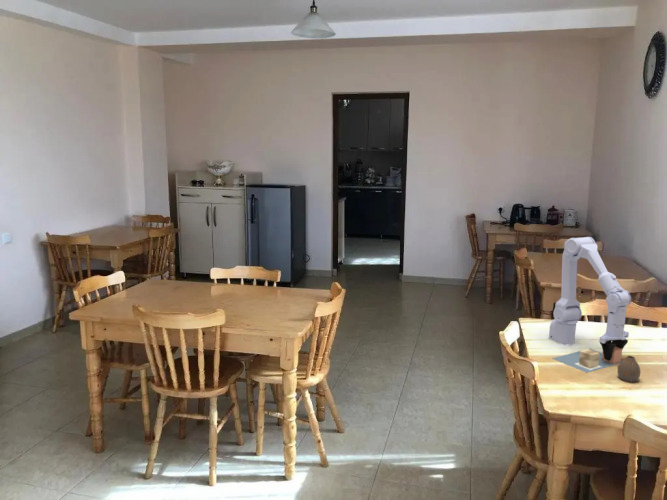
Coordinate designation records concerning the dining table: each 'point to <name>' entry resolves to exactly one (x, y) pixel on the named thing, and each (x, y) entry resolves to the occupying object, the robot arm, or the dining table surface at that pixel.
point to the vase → (629, 369)
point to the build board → (573, 361)
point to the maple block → (589, 358)
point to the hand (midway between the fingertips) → (611, 358)
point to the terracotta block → (615, 356)
